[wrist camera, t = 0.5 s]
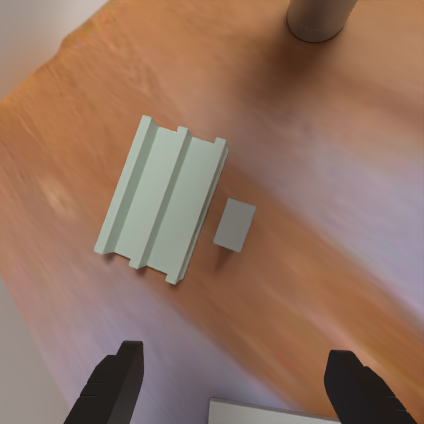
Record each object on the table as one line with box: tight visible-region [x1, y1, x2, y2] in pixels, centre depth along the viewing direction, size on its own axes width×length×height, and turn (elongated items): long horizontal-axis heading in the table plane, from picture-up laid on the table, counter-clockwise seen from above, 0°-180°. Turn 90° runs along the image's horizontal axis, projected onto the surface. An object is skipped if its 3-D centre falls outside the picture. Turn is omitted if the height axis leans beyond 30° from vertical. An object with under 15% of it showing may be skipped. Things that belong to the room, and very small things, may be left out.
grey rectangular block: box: [213, 198, 256, 253], centre depth 27 cm, size 5×3×12 cm, turn 160°
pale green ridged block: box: [94, 115, 229, 285], centre depth 33 cm, size 22×14×4 cm, turn 160°
